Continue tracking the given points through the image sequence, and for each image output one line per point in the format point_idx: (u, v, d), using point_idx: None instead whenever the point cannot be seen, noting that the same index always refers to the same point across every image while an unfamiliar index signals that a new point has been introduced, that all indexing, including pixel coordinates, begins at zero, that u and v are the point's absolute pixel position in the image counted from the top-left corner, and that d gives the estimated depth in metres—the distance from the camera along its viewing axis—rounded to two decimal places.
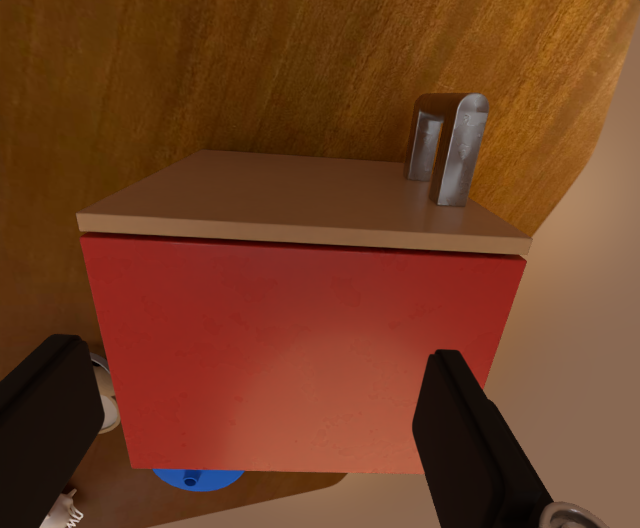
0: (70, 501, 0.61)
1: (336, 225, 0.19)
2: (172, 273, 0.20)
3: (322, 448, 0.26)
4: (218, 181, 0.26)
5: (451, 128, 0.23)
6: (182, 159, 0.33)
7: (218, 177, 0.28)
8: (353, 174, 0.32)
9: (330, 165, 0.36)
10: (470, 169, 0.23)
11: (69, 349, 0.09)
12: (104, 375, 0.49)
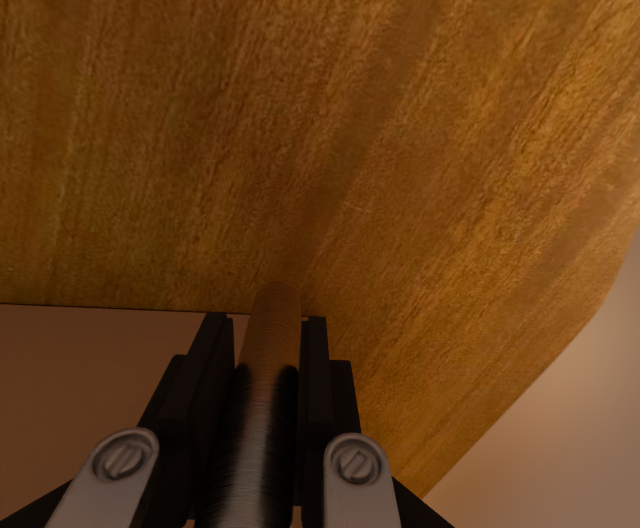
0: None
1: None
2: None
3: None
4: None
5: None
6: None
7: None
8: None
9: (145, 360, 0.20)
10: None
11: (225, 324, 0.10)
12: None
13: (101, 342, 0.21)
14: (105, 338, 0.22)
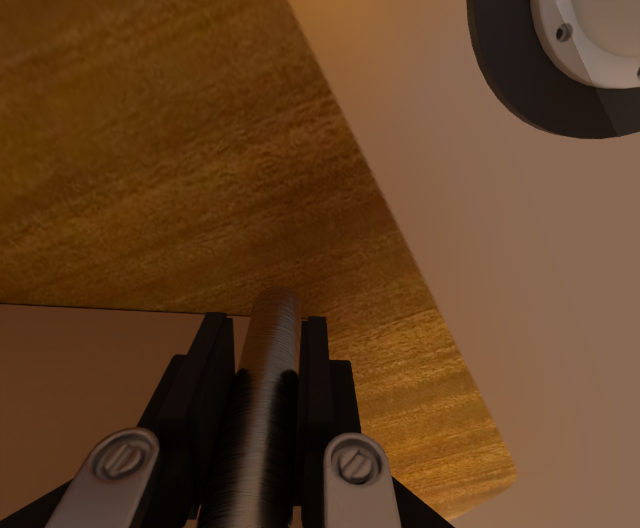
0: None
1: None
2: None
3: None
4: None
5: None
6: None
7: None
8: None
9: (145, 361, 0.20)
10: None
11: (225, 324, 0.10)
12: None
13: (101, 343, 0.21)
14: (105, 339, 0.22)
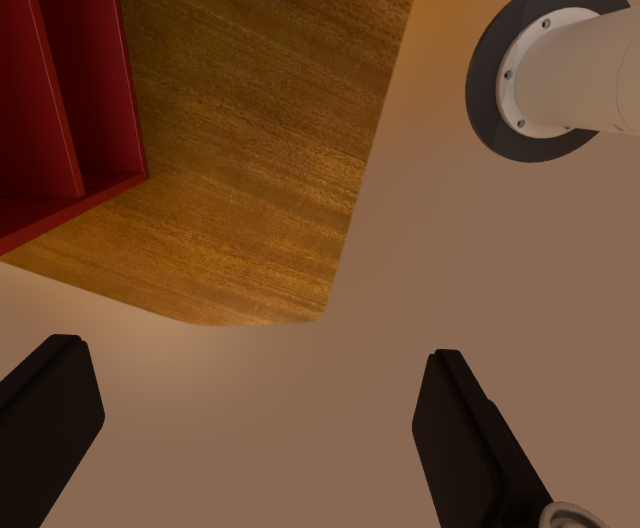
0: None
1: None
2: None
3: None
4: None
5: None
6: None
7: None
8: None
9: None
10: None
11: (69, 349, 0.09)
12: None
13: None
14: None
